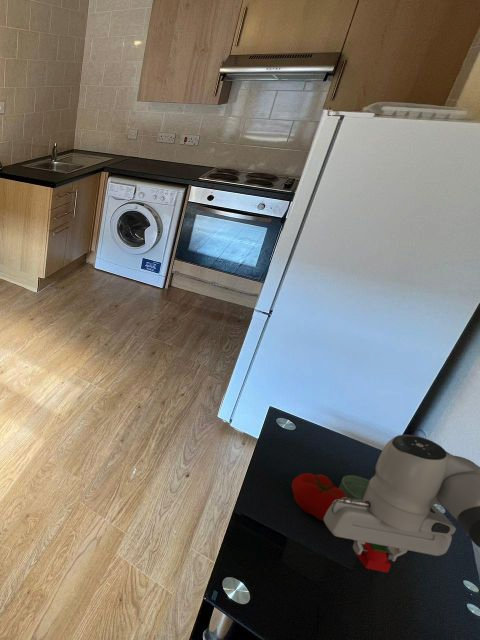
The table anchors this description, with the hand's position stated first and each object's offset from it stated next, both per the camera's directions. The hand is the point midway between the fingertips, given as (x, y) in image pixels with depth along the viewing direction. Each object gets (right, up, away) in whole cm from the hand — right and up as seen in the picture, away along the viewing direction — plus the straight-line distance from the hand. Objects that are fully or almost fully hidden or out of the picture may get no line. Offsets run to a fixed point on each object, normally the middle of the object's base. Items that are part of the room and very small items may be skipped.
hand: (373, 554), depth 88 cm
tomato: (+7, -4, +23) cm, 24 cm away
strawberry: (0, -2, +1) cm, 2 cm away
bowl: (+22, -4, +25) cm, 33 cm away
